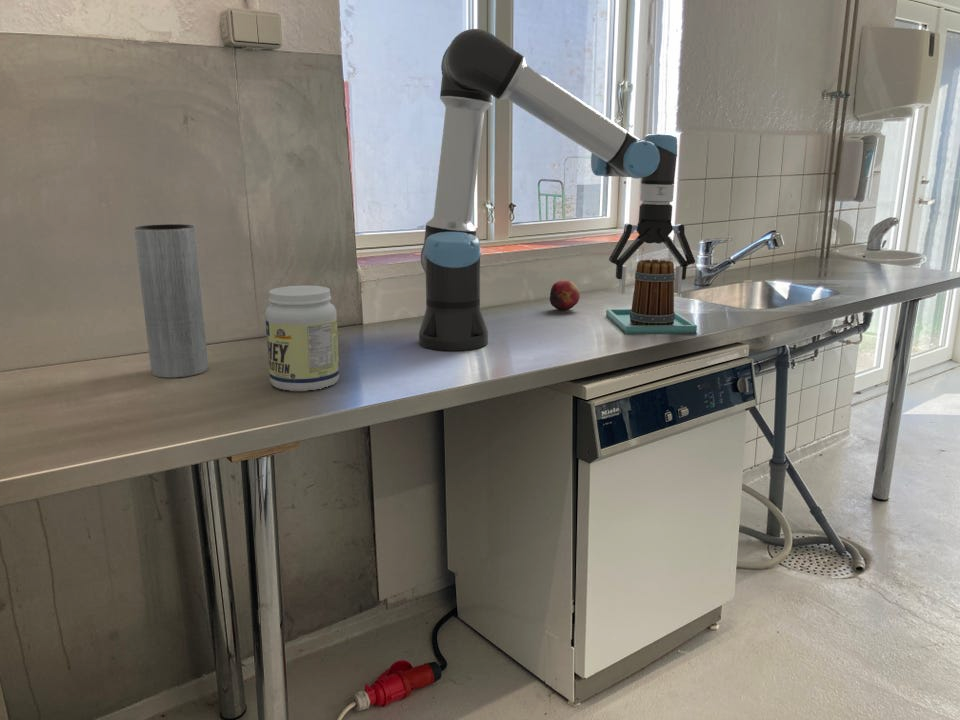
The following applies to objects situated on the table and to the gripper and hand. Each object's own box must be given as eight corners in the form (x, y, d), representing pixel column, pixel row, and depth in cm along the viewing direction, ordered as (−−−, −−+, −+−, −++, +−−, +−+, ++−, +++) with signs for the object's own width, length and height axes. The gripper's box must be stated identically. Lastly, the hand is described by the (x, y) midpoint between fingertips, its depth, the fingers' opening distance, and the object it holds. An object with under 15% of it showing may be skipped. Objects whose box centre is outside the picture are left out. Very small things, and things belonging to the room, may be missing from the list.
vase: (148, 380, 134) (129, 229, 127) (155, 366, 143) (138, 224, 136) (206, 376, 136) (192, 228, 129) (209, 362, 146) (196, 223, 138)
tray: (625, 334, 170) (625, 326, 169) (606, 315, 190) (606, 309, 189) (696, 333, 171) (696, 325, 170) (669, 315, 191) (670, 308, 190)
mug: (675, 329, 172) (679, 265, 168) (629, 327, 174) (632, 264, 170) (672, 316, 186) (676, 256, 182) (629, 314, 188) (633, 255, 184)
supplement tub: (257, 383, 132) (249, 289, 128) (316, 370, 140) (311, 281, 136) (293, 398, 124) (286, 298, 119) (353, 383, 132) (349, 289, 128)
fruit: (583, 312, 195) (584, 282, 192) (557, 314, 192) (558, 283, 190) (569, 307, 202) (570, 277, 199) (544, 309, 199) (545, 279, 197)
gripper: (607, 203, 168) (601, 295, 174) (714, 204, 170) (705, 295, 175) (600, 201, 176) (595, 289, 181) (703, 203, 177) (694, 290, 182)
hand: (649, 293), depth 178 cm, fingers open, 13 cm apart
